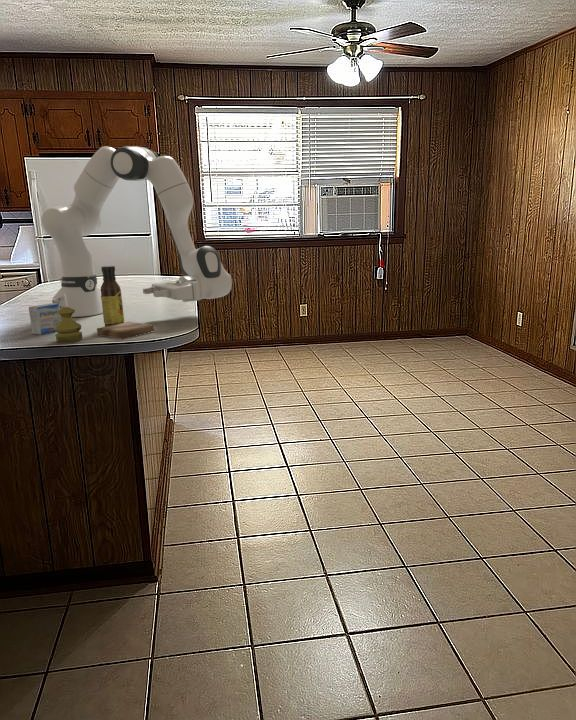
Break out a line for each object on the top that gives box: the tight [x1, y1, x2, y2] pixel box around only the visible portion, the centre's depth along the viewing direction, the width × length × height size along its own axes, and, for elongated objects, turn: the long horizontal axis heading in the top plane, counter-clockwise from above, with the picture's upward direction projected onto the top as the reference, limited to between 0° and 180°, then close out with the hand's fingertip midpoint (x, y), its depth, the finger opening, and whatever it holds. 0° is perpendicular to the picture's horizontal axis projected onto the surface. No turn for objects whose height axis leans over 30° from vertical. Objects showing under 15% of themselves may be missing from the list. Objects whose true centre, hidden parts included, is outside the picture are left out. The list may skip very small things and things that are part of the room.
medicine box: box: [28, 302, 62, 336], centre depth 178 cm, size 8×4×9 cm, turn 148°
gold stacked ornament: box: [54, 307, 84, 344], centre depth 164 cm, size 7×7×10 cm
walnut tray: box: [96, 321, 155, 340], centre depth 173 cm, size 12×12×2 cm
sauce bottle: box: [100, 265, 125, 327], centre depth 179 cm, size 6×6×20 cm
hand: (148, 292), depth 185 cm, fingers open, 8 cm apart
